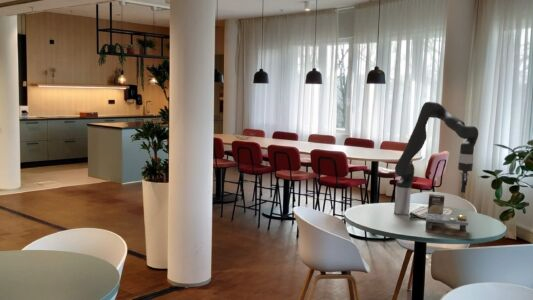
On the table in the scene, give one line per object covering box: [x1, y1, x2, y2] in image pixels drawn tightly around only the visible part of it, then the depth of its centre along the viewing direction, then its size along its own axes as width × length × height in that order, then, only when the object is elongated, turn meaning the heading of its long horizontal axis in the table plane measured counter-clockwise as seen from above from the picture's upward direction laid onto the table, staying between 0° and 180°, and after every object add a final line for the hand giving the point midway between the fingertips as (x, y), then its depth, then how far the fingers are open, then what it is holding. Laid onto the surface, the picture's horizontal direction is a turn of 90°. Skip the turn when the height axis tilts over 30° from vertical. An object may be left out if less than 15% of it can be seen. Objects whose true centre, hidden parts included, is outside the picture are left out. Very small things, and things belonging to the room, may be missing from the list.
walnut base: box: [425, 215, 468, 237], centre depth 310 cm, size 22×17×6 cm
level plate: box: [425, 212, 469, 227], centre depth 309 cm, size 22×16×4 cm
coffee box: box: [426, 193, 445, 225], centre depth 329 cm, size 9×6×16 cm
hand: (463, 192), depth 305 cm, fingers closed
